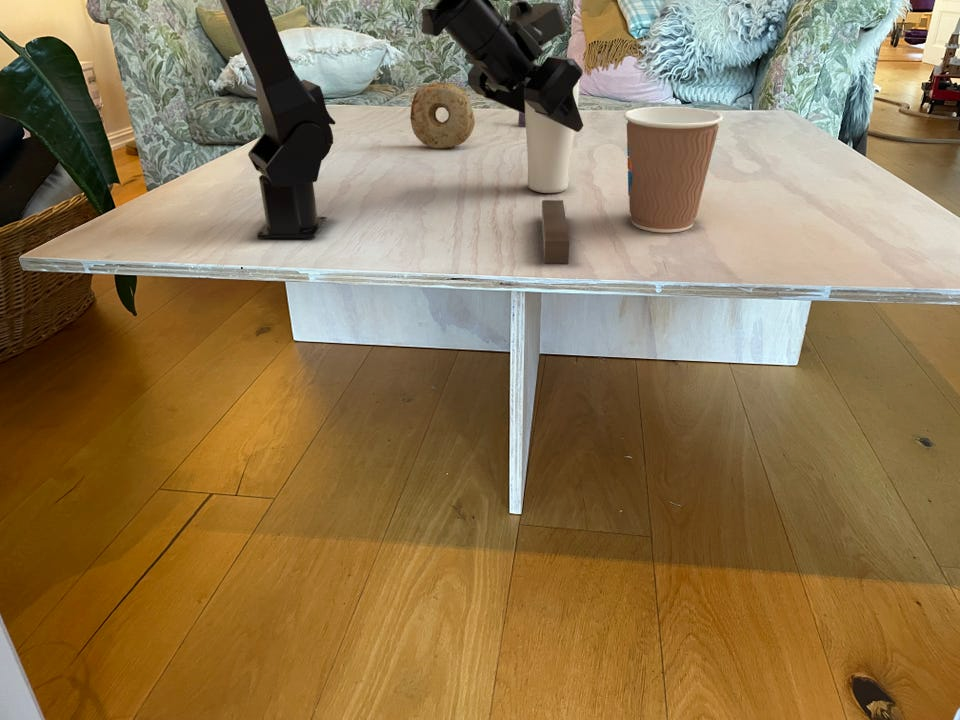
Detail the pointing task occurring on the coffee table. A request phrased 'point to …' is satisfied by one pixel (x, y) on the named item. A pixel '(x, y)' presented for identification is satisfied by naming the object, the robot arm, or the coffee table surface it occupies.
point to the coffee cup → (668, 164)
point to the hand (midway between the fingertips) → (559, 122)
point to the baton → (555, 232)
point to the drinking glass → (548, 150)
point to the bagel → (430, 126)
